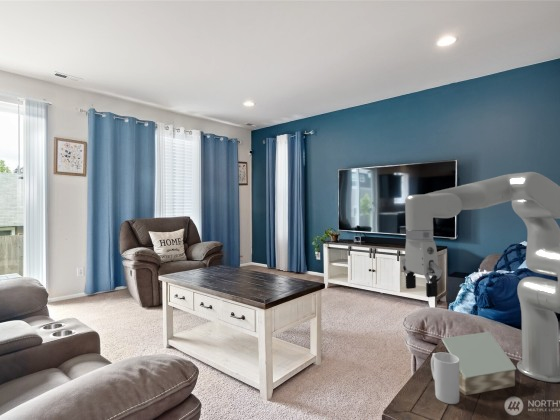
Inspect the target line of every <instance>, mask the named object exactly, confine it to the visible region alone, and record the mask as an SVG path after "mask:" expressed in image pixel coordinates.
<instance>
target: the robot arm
mask: <svg viewBox="0 0 560 420" xmlns="http://www.w3.org/2000/svg"><path fill="white" fill-rule="evenodd" d="M404 200H405V203H404V204H405V205H404V207H405V208H404V209H405V210H404V211H405V238H406V239H405V246H404V247H405V250H404V258H403V259H402V260H401V264H402V269H403V271H404V276H405V289H407V290H409V289H416V288H417V280H416V279H417V276H416V274H417V275H420V276H424V278H425V280H426V283H425V291H426V292H425V293H426V294H425V295H426V296H425V297H426V298H434V297H435V298H437V297H438V283H439V281H440V279H441V277H442V274H443V270H442V268H441V267H440V266H439V257H438V251H437V245H436V241H435V240H434V218H435V219H436V218H438V219H450V218H451V219H452V218H453V217H456V216H458V215H459V214H460V213H461V211H465V210H466V211H467V210H468V211H469V210H471V211H472V210H478V209H479V210H480V209H486V208H491V207H493V206H495V205H500V204H504V203H507V202H511V207H512V211H514V213H515V214H516V215H517V216H518V217H519V218H520V219H521V220H522V221H523V223H524V224H525V227H526V231H527V239H526V249H525V250H526V252H525V265H526V267H527V269H528V270H530V271H532V272H533V273H537V274H540V275H545V276H552V277H556V278H557V280H554V279H549V278H544V277H538V276H527V277H523V278H521V280H520V281H519V282H518V285H517V288H516V289H517V292H516V293H517V298H518V300H519V303H520V304H519V305H520V311H521V347H522V348H521V350H522V351H521V352H522V355H521V356H522V357H521V358H522V360H519V361H518V362H517V363H516V367H517V368H516V369H517V370H518V371H519V372H520V373H522V374H523V375H525V376H527V377H530V378H532V379H534V380H538V381H542V382H546V383H547V382H548V383H560V343H559V342H560V341H559V340H560V338H559V336H560V335H559V332H560V331H559V328H560V327H559V321H558V318H557V315H556V314H560V226H559V224H558V222H557V221H556V219H557V220H558V219H560V185H558V184H557V183H556V182H554V181H552V179H550V178H549V177H546V176H545V175H543V174H541V173H538V172H535V171H526V172H515V173H508V174H503V175H499V176H496V177H492V178H487V179H484V180H479V181H475V182H471V183H466V184H461V185H458V186H454V187H449V188H445V189H441V190H435V191H433V192H428V193H425V194H410V195H407V196H406V197H405V199H404ZM430 276H431V277H430Z"/></svg>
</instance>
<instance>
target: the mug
mask: <svg viewBox="0 0 560 420" xmlns="http://www.w3.org/2000/svg"><path fill="white" fill-rule="evenodd" d="M430 369H431V375H432V378H433V380H434V391H435V397H436V399H437V400H439V401H440V402H442V403H445V404H448V405H456V404H458V403H459V402H460V391H459V358H458V357H457V356H455V355H453V354H450V353H449V352H444V351H443V352H440V351H439V352H436V353H435V352H433V353H432V356H431V359H430Z"/></svg>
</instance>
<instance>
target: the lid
mask: <svg viewBox="0 0 560 420" xmlns="http://www.w3.org/2000/svg"><path fill="white" fill-rule="evenodd" d="M441 341H442V342H443V344H444V346H445V348H446V350H447V351H448V353H449V354H453V355H455V356H457V357H458V358H459V370H460V372H461V373H462V375H463V377H464V379H466V378H472V377H477V376H483V375H489V374H495V373H500V372H506V371H512V370H514V371H516V370H517V368H516V367H517V366H515V365H514V363H513V362H512V361H511V359H510V357H509V356H508V355H507V354H506V352H505V351H504V349H503V348H502V347H501V345H500V344H499V342H498V341H497V340H496V338H495V337H494V335H493V334H492V333H491V331H485V332H476V333H471V334H470V333H469V334H462V335H456V336H448V337H447V336H446V337H442V338H441Z"/></svg>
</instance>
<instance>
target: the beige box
mask: <svg viewBox="0 0 560 420" xmlns="http://www.w3.org/2000/svg"><path fill="white" fill-rule="evenodd" d="M515 371H516V370H512V371H506V372H500V373H495V374H489V375H483V376H477V377H472V378H466V379H464V377H463V375H462V373H461V372H460V370H459V393H460V392H461V393H462V394H463V395H464V396H468V395H474V394H479V393H485V392H489V391H495V390H500V389H506V388H507V389H508V388H511V387H512V388H513V387H515V386H516V377H515V376H516V375H515Z"/></svg>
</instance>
